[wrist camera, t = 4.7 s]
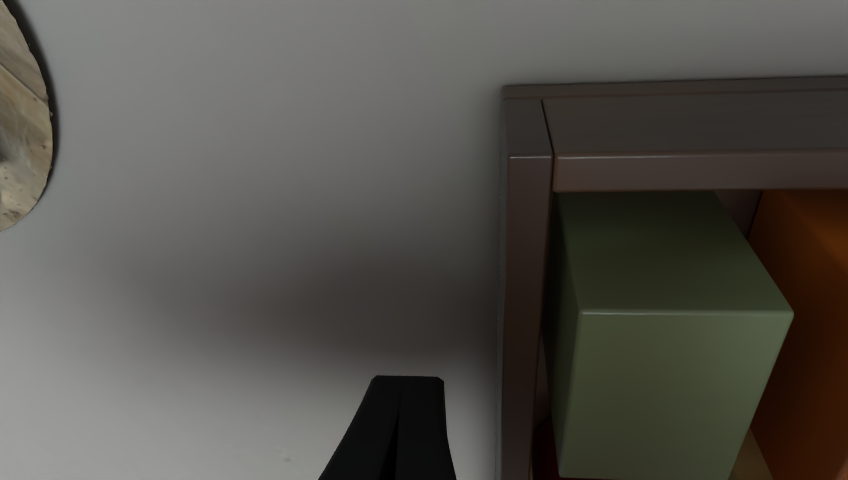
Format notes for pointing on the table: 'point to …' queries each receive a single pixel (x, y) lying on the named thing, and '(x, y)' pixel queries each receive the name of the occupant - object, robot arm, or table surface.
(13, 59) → the figurine
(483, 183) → the table surface
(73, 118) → the table surface
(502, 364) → the tray of colored blocks
